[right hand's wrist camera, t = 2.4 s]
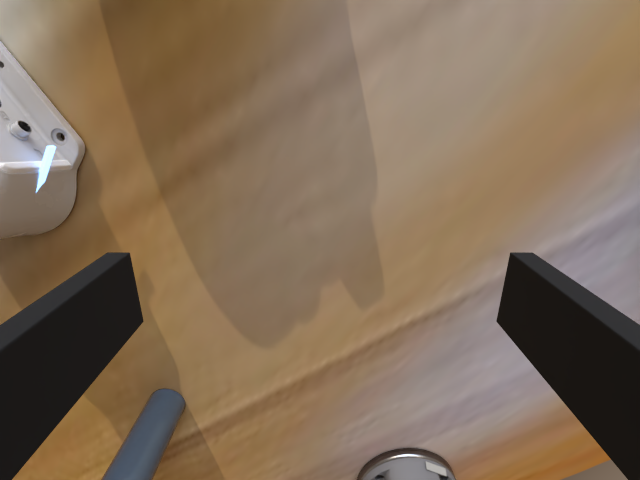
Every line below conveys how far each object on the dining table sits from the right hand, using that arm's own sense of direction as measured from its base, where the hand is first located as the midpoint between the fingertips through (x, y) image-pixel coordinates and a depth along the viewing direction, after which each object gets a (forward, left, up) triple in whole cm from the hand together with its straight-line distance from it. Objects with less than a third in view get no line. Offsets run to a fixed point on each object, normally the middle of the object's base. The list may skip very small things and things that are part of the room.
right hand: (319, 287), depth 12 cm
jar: (-33, +22, -28) cm, 48 cm away
